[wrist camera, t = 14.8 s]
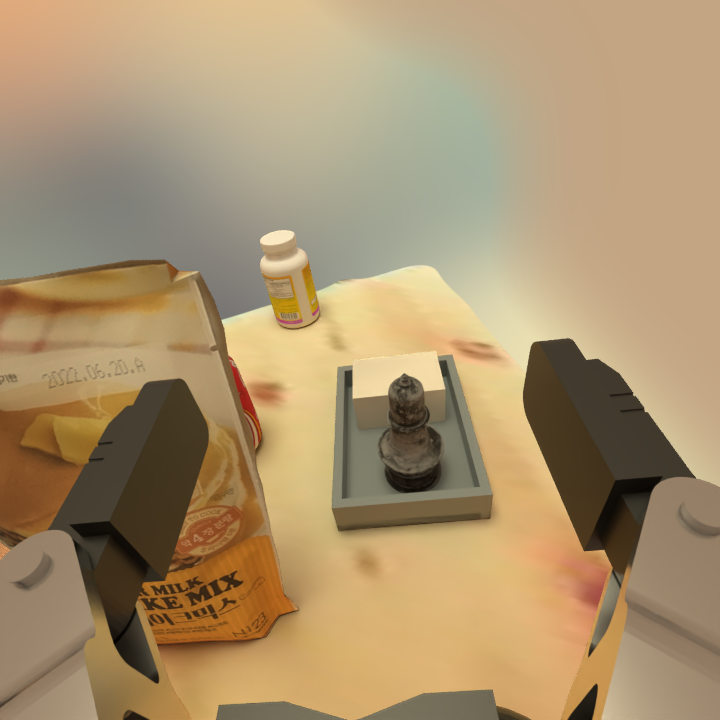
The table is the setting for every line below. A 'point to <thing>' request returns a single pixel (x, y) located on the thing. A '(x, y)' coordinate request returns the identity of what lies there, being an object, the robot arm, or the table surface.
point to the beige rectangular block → (381, 372)
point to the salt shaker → (410, 439)
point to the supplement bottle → (288, 280)
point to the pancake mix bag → (106, 400)
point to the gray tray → (366, 470)
